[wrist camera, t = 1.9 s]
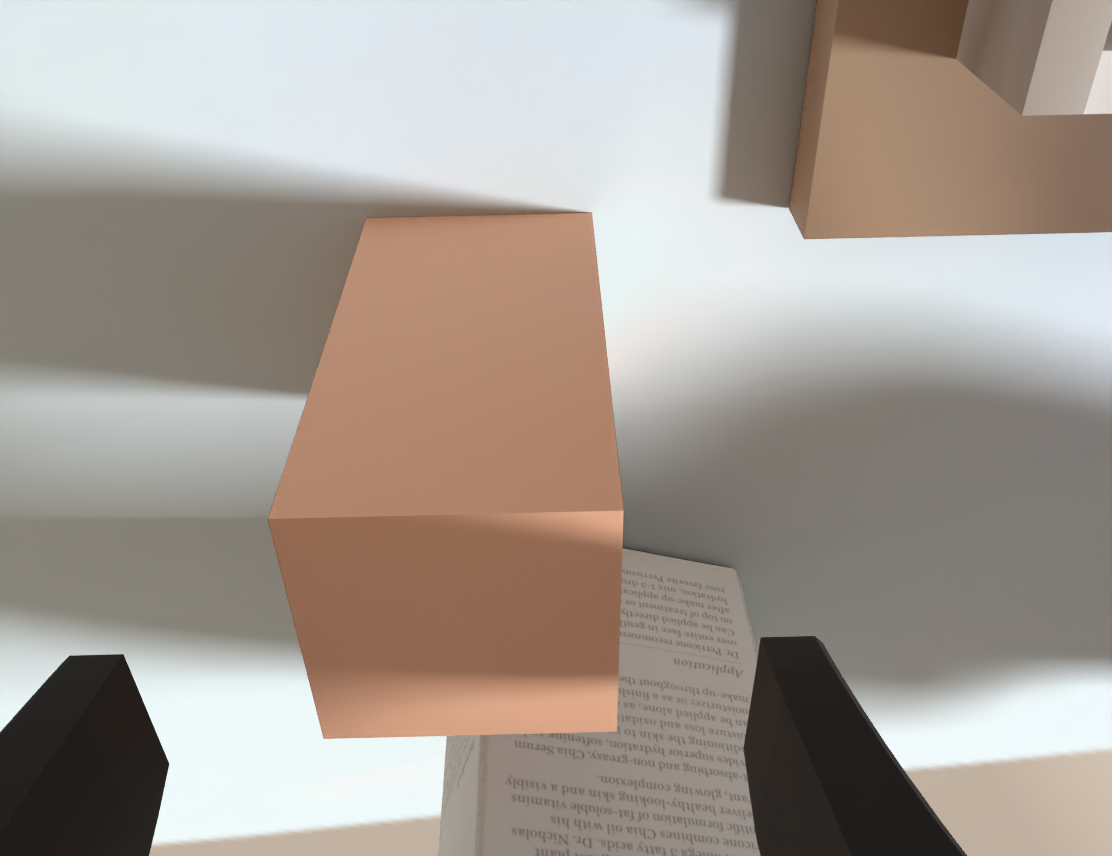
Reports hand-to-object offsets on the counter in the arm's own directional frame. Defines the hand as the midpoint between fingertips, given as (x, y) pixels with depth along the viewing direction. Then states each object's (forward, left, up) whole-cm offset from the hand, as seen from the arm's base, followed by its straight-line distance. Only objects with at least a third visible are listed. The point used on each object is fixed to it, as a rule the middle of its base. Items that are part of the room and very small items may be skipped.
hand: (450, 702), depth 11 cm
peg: (0, 0, -9) cm, 9 cm away
